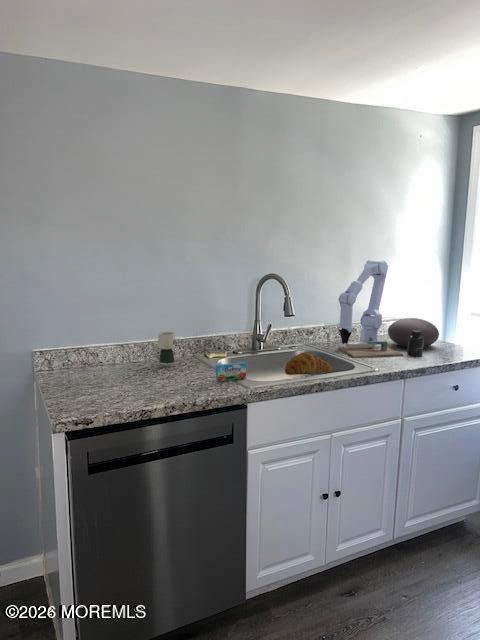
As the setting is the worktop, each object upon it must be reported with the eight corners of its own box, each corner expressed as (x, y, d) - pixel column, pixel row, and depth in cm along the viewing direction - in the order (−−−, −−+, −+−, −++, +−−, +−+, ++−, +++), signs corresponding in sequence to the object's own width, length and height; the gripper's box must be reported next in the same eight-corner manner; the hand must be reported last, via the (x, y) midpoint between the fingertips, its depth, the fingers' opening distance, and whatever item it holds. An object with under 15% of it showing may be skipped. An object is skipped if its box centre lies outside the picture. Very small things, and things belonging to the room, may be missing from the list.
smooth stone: (376, 344, 247) (378, 316, 244) (412, 340, 257) (414, 313, 255) (411, 354, 225) (413, 323, 222) (448, 350, 235) (451, 321, 232)
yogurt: (244, 377, 181) (244, 362, 180) (246, 378, 179) (246, 363, 178) (215, 380, 176) (215, 364, 175) (217, 381, 174) (217, 365, 173)
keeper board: (338, 349, 233) (338, 338, 232) (384, 347, 237) (385, 337, 237) (353, 357, 215) (354, 346, 215) (403, 356, 220) (404, 345, 219)
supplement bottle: (420, 358, 217) (422, 333, 215) (405, 356, 221) (407, 331, 219) (424, 355, 222) (426, 330, 220) (409, 353, 226) (411, 329, 224)
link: (372, 346, 234) (372, 336, 233) (375, 348, 230) (376, 337, 229) (343, 347, 231) (343, 336, 230) (346, 349, 227) (346, 338, 226)
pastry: (291, 378, 181) (292, 358, 180) (276, 370, 193) (277, 351, 192) (337, 374, 189) (338, 354, 187) (320, 366, 201) (321, 347, 199)
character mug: (177, 365, 196) (177, 335, 194) (160, 366, 194) (160, 336, 192) (172, 359, 206) (172, 330, 204) (156, 360, 204) (156, 331, 202)
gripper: (333, 314, 237) (331, 341, 239) (344, 319, 223) (342, 347, 225) (346, 314, 238) (344, 340, 240) (358, 319, 224) (356, 347, 226)
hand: (344, 344), depth 233 cm, fingers closed
